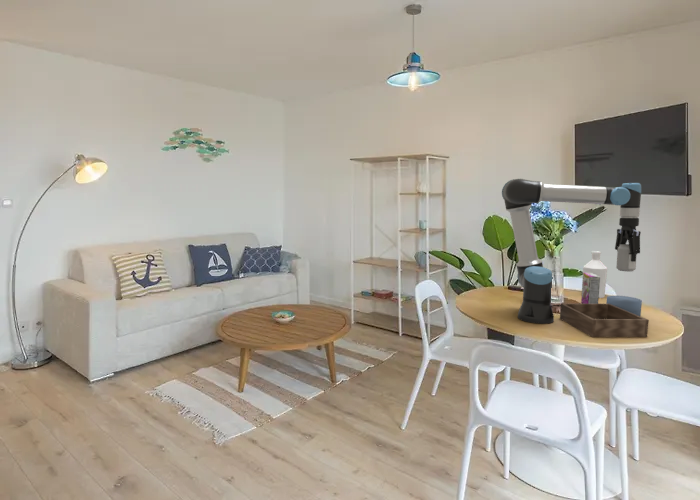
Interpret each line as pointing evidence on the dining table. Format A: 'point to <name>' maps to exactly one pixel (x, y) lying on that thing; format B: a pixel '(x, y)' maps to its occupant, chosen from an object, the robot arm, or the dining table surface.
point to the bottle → (597, 271)
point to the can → (623, 258)
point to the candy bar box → (590, 288)
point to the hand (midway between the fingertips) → (625, 266)
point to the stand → (626, 303)
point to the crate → (604, 320)
